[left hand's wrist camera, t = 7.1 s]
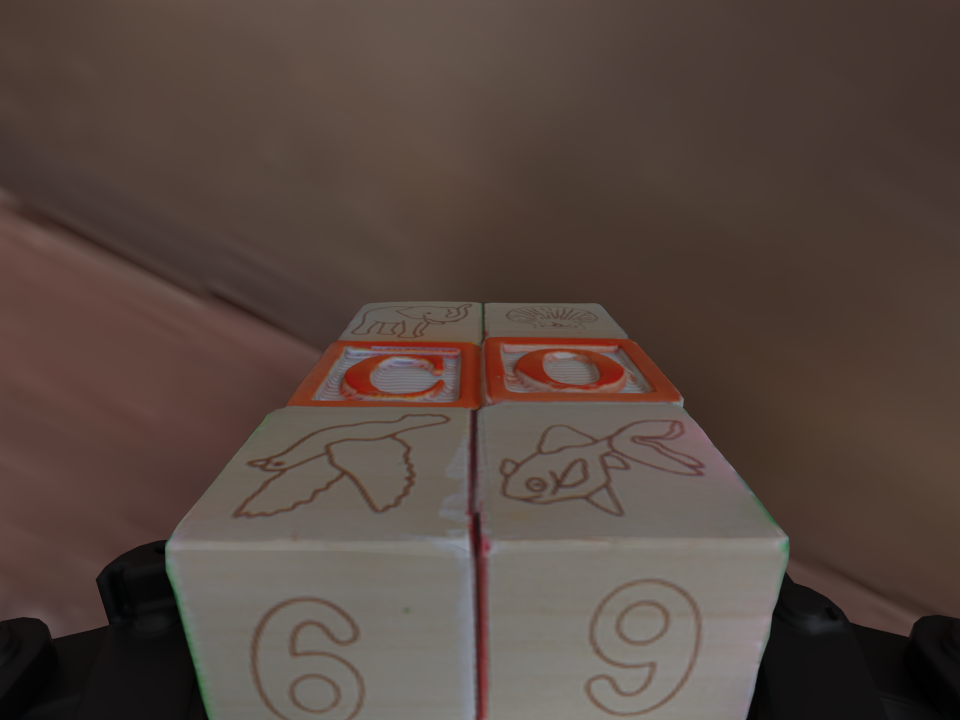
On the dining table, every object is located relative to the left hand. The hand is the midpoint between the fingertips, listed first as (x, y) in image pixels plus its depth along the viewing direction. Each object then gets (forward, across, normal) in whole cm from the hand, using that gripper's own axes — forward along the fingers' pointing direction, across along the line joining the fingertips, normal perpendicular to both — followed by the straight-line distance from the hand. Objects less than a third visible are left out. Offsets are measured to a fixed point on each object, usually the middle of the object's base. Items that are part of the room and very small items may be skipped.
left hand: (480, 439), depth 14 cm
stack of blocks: (+1, 0, -7) cm, 7 cm away
